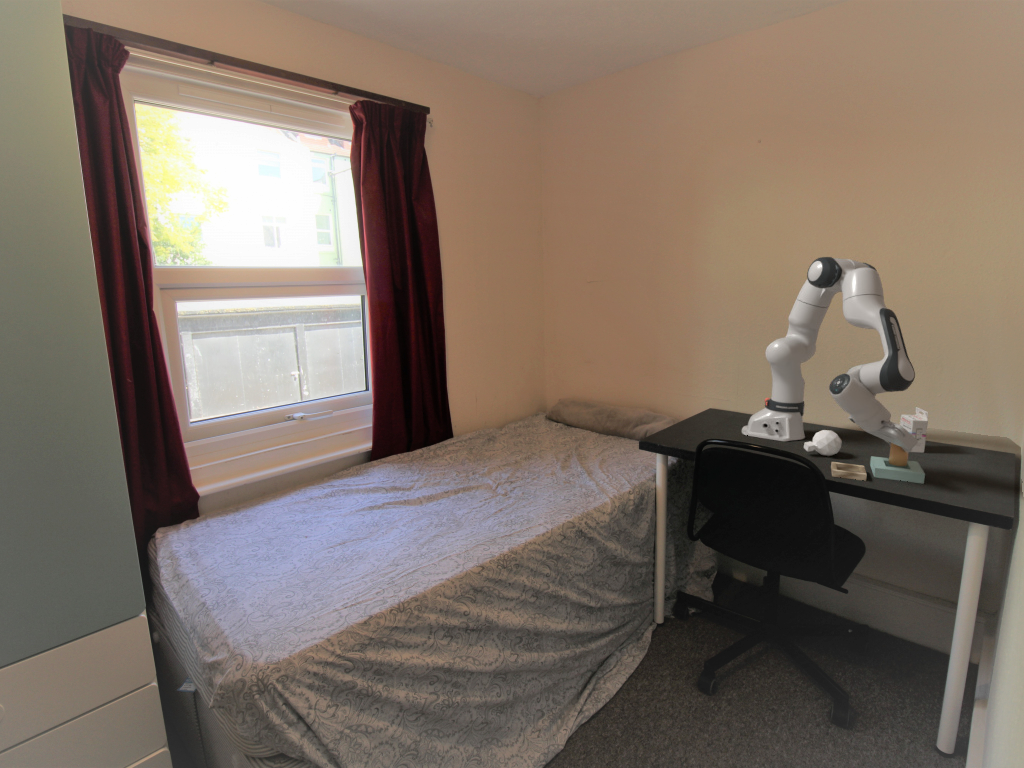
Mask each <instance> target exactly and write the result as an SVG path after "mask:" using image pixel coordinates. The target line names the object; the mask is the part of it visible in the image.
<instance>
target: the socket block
mask: <svg viewBox="0 0 1024 768" xmlns="http://www.w3.org/2000/svg"><path fill="white" fill-rule="evenodd" d="M869 465H870V469H871V471H872V475H873V478H878V479H885V480H894V481H900V480H901V482H907V481H908V482H909V483H915V484H916V483H917V484H924V483H925V478H926V477H925V476H926V473H925V472H924V470H923V468H922V467H921V464H920V463H919V462H918V461H916V460H908V461H907V466H895V465H892V464H890V463H889V457H881V456H873V455H872V456H870V461H869Z"/></svg>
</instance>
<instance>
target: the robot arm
mask: <svg viewBox="0 0 1024 768" xmlns="http://www.w3.org/2000/svg"><path fill="white" fill-rule="evenodd" d="M808 267H809V268H807V273H806V274H807V275H806V277H807V278H806V280H805V282H804V283H803V285H802V287H801V288H800V290H799V292H798V294H797V296H796V299H795V301H794V304H793V306H792V308H791V310H790V313H789V315H788V329H787V333H786V335H785V336H784V337H780V338H777V339H775V340H773V341H772V342H771V343H770V344H768V346H766V349H765V352H764V353H765V358H766V360H767V362H768V363H769V366H770V372H771V379H772V383H771V396H770V397H771V398H770V397H765V399H764V402H765V403H764V408H762V409H760V410H759V411H757V412H755V413H753V414H752V415H751V416H750V417H749V420H748V422H747V425H743V427H741V434H742V435H745V436H747V435H748V437H752V438H754V437H755V438H760V439H765V440H771V441H773V440H774V441H779V442H789V441H790V442H791V441H798V440H804V439H805V438H806V436H805V431H804V419H803V416H804V413H805V401H804V395H805V387H806V385H805V383H806V382H805V381H806V380H805V379H804V377H803V374H802V369H801V365H802V364H804V363H806V362H807V361H809V360H810V359H811V358H812V357H814V355H815V353H816V352H817V345H816V343H817V340H818V336H819V332H820V329H821V325H822V323H823V320H824V319H825V316H826V314H827V313H828V309H829V307H830V305H831V303H832V301H833V298H834V296H835V295H836V294H837V293H842V314H843V318H844V319H845V320H846V322H847V323H849V324H850V325H852V327H856V328H860V329H865V330H876V331H877V332H878V335H879V337H880V341H881V346H882V350H883V353H884V355H883V358H882V359H881V360H876V361H873V362H869V363H863V364H862V363H861V364H859V365H858V364H857V365H856V366H855V365H854V366H852V367H850V368H849V369H848V370H847V371H846V372H845V373H842V374H841V373H840V374H839V375H837V376H835V378H834V377H833V379H832V380H831V382H830V384H829V386H828V390H829V393H830V396H831V398H832V399H833V400H834V401H835V403H837V405H838V406H839V407H840V408H841V409H842V411H844V412H845V413H847V414H848V415H849V416H848V417H847V418H848V419H849V421H851V422H852V423H853V424H856V425H857V426H858V428H860V429H861V430H862V431H864V432H866V433H867V434H870V435H872V436H875V437H877V438H878V439H882V440H883V441H884V442H886V443H888V445H889V446H891V443H893V444H895V445H897V446H900V447H902V448H901V449H902V450H903V451H905V452H907V453H908V454H909V453H911V452H910V451H912V448H913V447H914V446H915V445H917V443H918V441H917V440H916V439H915V438H914V437H913V436H912V435H911V434H910V433H909V432H908V431H907V430H906V429H905V428H903V427H902V426H900V424H898V423H896V422H893V421H891V417H892V414H891V412H890V411H889V410H888V408H886V407H885V406H884V405H883V404H882V403H881V401H879V400H878V399H877V398H876V395H877V394H883V393H893V392H903V391H906V390H908V389H909V387H911V385H912V384H913V383H914V380H915V378H916V372H915V368H914V366H913V363H912V362H911V360H910V357H909V355H908V351H907V348H906V344H905V339H904V337H903V333H902V330H901V329H902V328H901V326H900V322H899V320H898V318H897V317H898V316H897V315H896V313H895V312H894V311H893V310H892V309H890V308H887V306H886V304H885V298H884V297H885V296H884V295H885V294H884V289H883V284H882V281H881V277H880V274H879V272H878V271H877V269H876V268H875V266H873V265H871V264H869V263H867V262H861V261H858V260H854V259H851V258H850V259H849V258H837V257H832V256H822V257H818V258H816V259H815V260H813V261H812V263H811V264H810V265H809V266H808Z"/></svg>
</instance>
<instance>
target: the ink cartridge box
mask: <svg viewBox="0 0 1024 768" xmlns="http://www.w3.org/2000/svg"><path fill="white" fill-rule="evenodd" d="M928 423H929V412H928V411H926V410H924V409H922V408H920V407H917V406H915V413H914V414H900V420H899V425H900V426H902V427H903V428H905V429H906V430H907V431H908V432H909V433H910V434H911V435H912V436H913V437H914V438H915V439H916V440H917V441H918V443H917V445H915V446H914V447H913V448H912V451H910V452H909V453H923V454H924V452H925V447H926V439H927V430H928Z"/></svg>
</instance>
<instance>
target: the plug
mask: <svg viewBox="0 0 1024 768" xmlns="http://www.w3.org/2000/svg"><path fill="white" fill-rule="evenodd" d="M889 448H890V450H889V455H888V456H889V457H888V458H889V463H890V464H892V465H895V466H907V461H909V453H907V452H905V451H903V450H902V449H901V448H902V447H900V446H897V445H895V444H893V443H891V445H890V447H889Z"/></svg>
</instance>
